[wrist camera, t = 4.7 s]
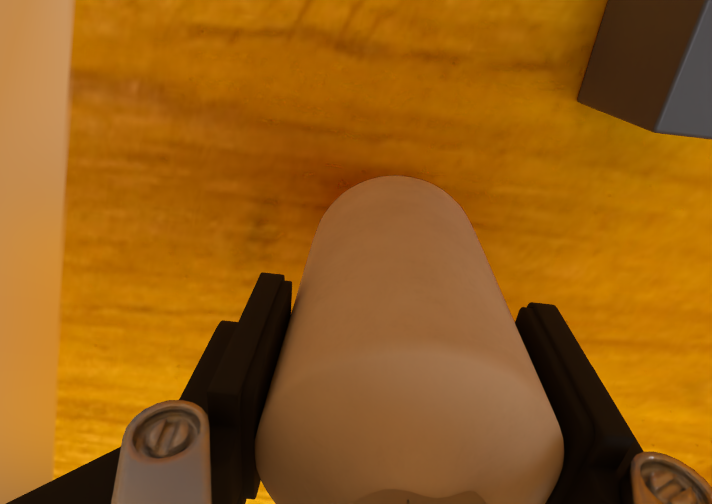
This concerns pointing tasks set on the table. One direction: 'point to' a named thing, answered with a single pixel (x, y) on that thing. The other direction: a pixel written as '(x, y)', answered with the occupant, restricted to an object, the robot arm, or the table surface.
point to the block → (654, 66)
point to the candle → (404, 366)
